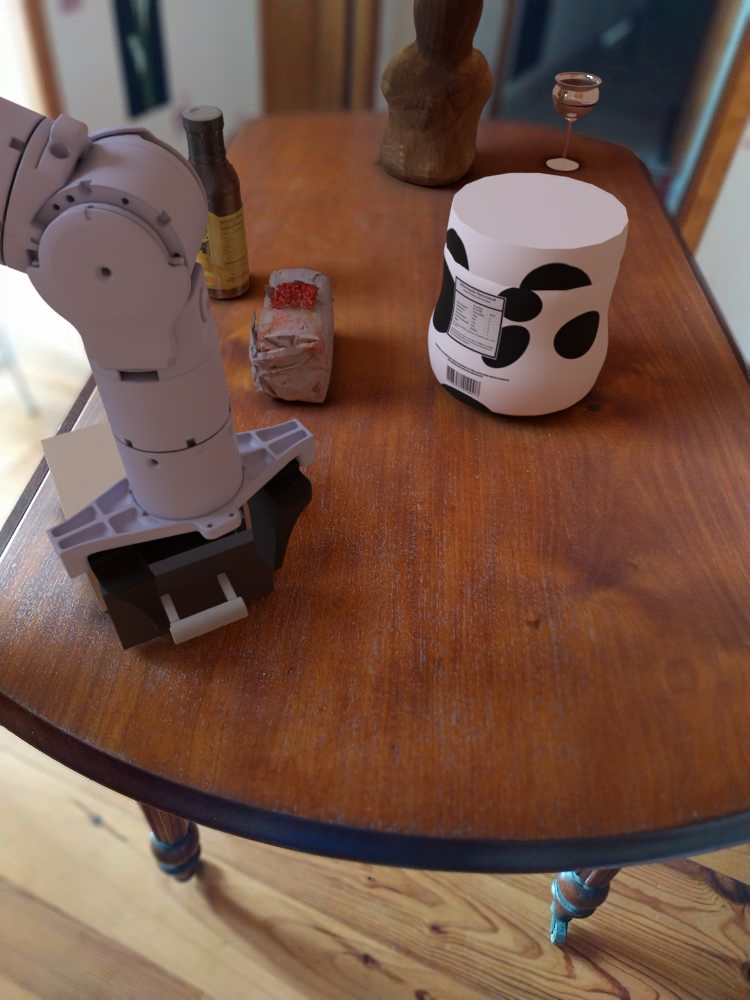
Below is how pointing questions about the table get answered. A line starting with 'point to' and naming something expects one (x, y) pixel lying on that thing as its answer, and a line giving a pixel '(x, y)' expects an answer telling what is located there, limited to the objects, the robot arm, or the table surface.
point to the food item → (294, 337)
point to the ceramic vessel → (436, 95)
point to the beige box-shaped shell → (88, 473)
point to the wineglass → (573, 106)
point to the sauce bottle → (218, 205)
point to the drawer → (195, 585)
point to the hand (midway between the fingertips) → (216, 588)
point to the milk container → (526, 292)
